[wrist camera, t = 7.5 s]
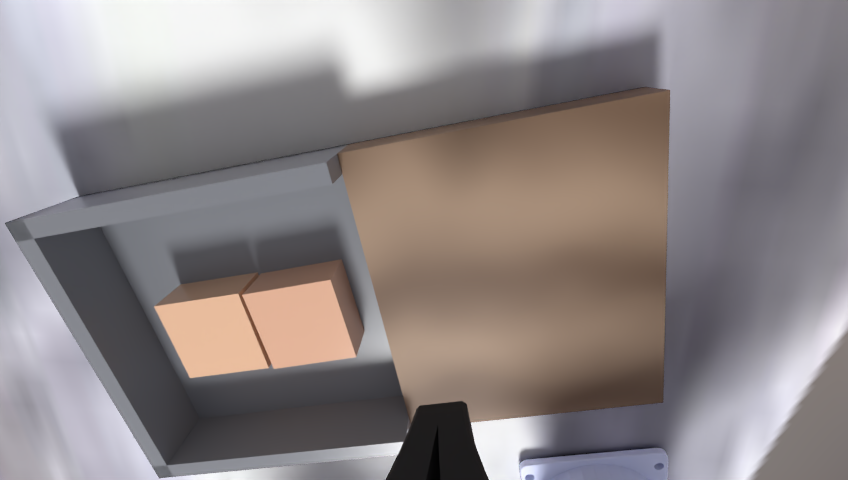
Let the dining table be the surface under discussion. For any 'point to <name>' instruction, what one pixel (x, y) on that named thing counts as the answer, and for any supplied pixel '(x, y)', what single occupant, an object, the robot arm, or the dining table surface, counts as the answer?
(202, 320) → the tile
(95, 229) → the tray
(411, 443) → the robot arm
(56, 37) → the dining table surface
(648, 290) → the board
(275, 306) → the tile
